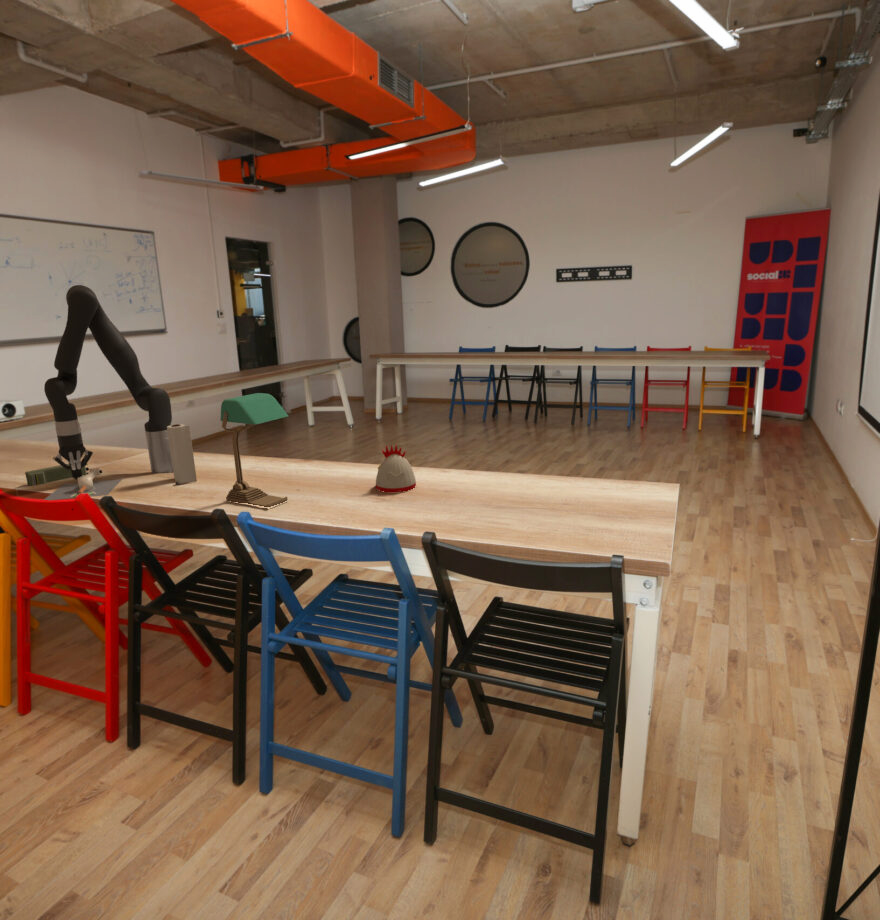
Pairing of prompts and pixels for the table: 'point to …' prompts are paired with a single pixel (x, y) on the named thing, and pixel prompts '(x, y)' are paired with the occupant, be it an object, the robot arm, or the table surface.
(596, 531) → the table surface
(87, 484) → the lever with orange pointer
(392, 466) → the beige knit hat
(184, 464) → the paper towel roll
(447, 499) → the table surface
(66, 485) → the gauge board
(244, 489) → the banker's lamp
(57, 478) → the handheld radio
